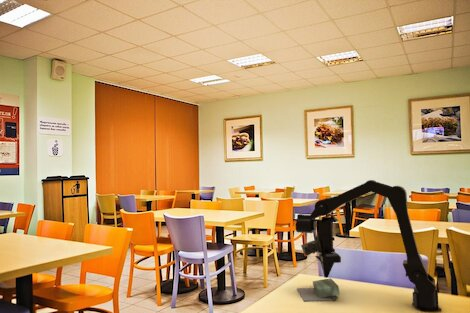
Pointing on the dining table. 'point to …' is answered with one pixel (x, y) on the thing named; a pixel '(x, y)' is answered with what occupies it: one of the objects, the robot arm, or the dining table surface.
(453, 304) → the dining table surface
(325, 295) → the grey-green rectangular block
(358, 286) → the dining table surface
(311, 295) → the slate board
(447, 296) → the dining table surface
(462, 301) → the dining table surface
